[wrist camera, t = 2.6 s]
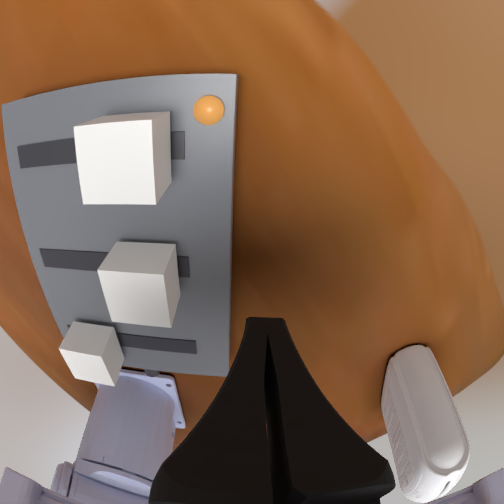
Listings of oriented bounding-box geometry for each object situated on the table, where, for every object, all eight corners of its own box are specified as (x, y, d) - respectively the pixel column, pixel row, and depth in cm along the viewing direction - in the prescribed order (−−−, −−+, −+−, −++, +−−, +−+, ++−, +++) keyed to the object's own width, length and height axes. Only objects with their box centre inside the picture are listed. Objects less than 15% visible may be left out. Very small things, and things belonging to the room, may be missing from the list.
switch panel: (230, 370, 23) (228, 395, 21) (88, 354, 22) (79, 374, 20) (238, 74, 12) (236, 73, 10) (23, 98, 12) (-3, 105, 10)
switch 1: (171, 181, 13) (156, 204, 10) (107, 182, 12) (83, 204, 10) (170, 111, 11) (151, 119, 9) (102, 116, 11) (73, 126, 9)
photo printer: (414, 398, 27) (444, 499, 16) (376, 409, 27) (400, 515, 17) (432, 336, 21) (488, 468, 11) (385, 350, 22) (429, 494, 11)
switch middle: (180, 294, 16) (171, 327, 14) (126, 290, 16) (111, 321, 14) (175, 244, 14) (163, 274, 12) (116, 241, 14) (97, 270, 12)
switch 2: (124, 358, 19) (115, 386, 17) (86, 351, 19) (75, 378, 17) (113, 327, 17) (101, 356, 15) (73, 321, 17) (58, 348, 15)
